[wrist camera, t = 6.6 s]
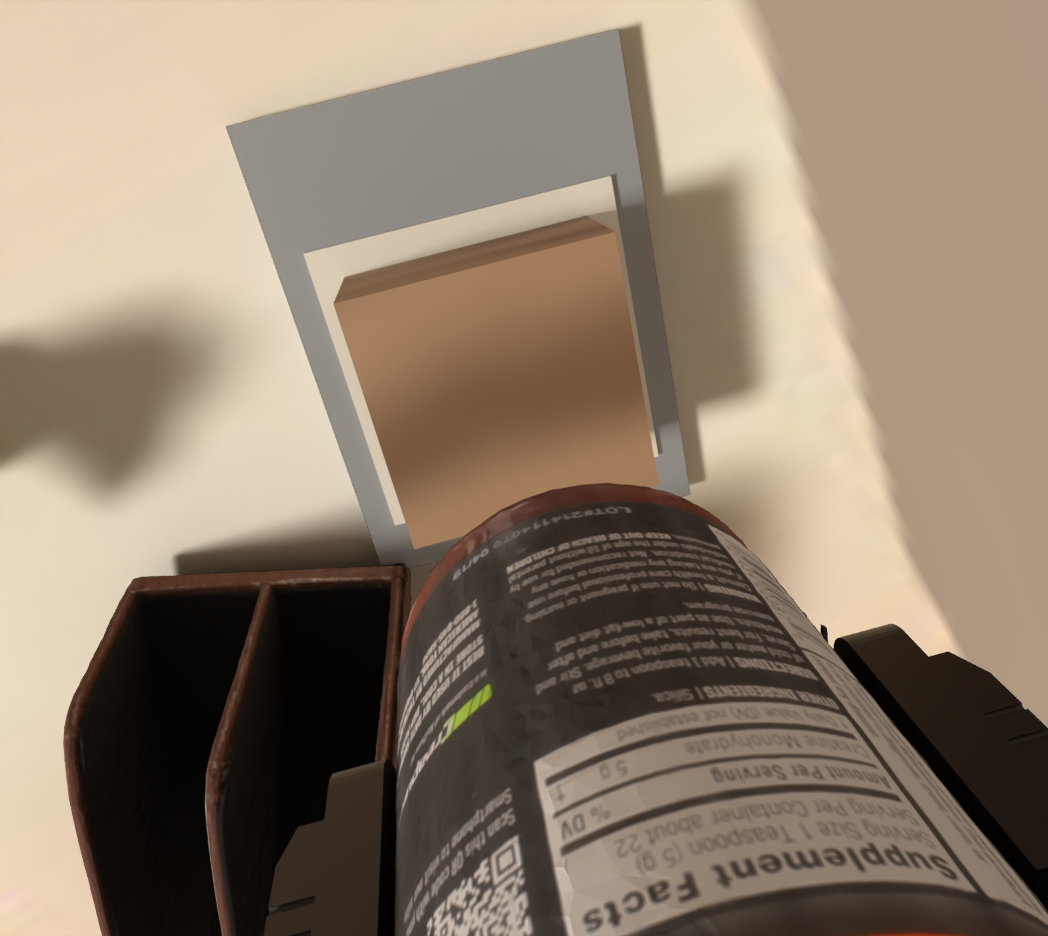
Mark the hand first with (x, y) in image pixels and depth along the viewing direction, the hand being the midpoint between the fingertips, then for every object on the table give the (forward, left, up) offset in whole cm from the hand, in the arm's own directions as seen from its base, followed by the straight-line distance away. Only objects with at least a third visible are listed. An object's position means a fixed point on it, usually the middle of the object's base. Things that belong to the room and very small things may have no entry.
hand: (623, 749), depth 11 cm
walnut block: (0, 0, -18) cm, 18 cm away
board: (-1, 0, -19) cm, 19 cm away
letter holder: (+15, -12, -19) cm, 27 cm away
